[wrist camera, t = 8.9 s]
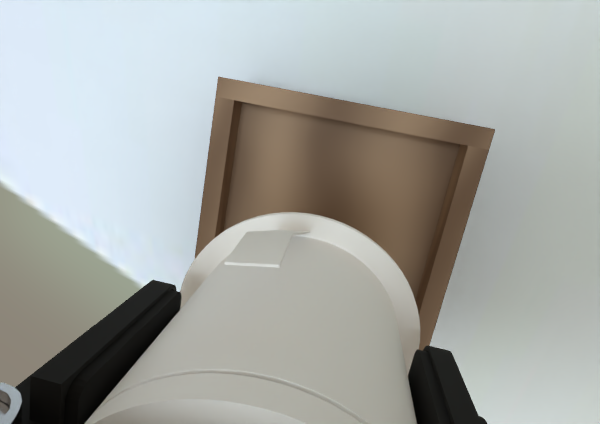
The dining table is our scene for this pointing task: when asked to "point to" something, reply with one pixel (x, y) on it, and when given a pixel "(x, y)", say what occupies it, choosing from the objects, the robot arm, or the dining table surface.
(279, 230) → the downlight
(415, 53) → the dining table surface
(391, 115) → the walnut stand
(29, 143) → the dining table surface
